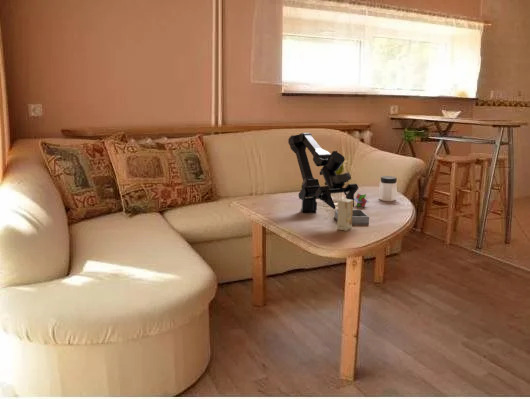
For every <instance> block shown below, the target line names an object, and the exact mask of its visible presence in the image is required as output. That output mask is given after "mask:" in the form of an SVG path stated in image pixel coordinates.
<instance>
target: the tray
mask: <svg viewBox="0 0 530 399" xmlns="http://www.w3.org/2000/svg"><path fill="white" fill-rule="evenodd" d="M334 218H335V219H336V221H337V222H338V209H334ZM353 225H361V226H363V225H370V216H369V215H368V214H367V213H366V212H364V211H363V210H362V209H353V214H352V226H353Z"/></svg>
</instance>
